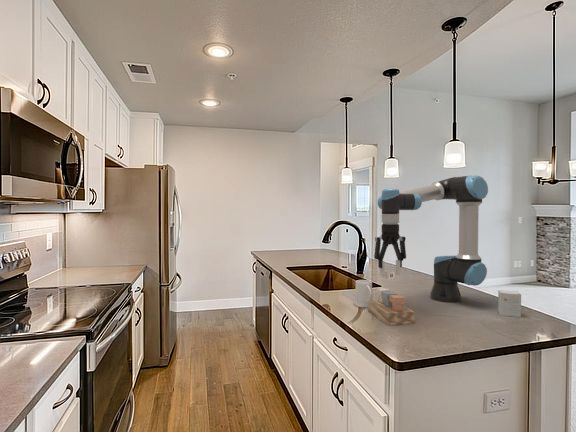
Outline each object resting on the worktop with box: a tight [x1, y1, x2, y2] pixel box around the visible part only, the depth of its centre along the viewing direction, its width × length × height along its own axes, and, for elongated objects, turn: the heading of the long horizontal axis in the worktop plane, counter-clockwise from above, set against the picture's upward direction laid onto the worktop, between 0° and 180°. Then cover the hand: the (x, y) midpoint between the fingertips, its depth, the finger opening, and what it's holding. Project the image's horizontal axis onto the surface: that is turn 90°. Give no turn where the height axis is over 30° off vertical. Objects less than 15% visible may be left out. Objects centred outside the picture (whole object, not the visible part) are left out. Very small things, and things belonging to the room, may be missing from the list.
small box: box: [497, 289, 522, 318], centre depth 161 cm, size 8×6×10 cm
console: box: [367, 299, 415, 326], centre depth 158 cm, size 12×20×5 cm, turn 10°
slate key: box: [383, 290, 399, 308], centre depth 158 cm, size 5×5×7 cm
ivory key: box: [376, 287, 392, 304], centre depth 164 cm, size 5×5×7 cm
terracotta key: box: [389, 294, 406, 312], centre depth 151 cm, size 5×5×7 cm
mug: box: [354, 279, 373, 308], centre depth 176 cm, size 12×8×12 cm
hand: (390, 274), depth 157 cm, fingers open, 7 cm apart
